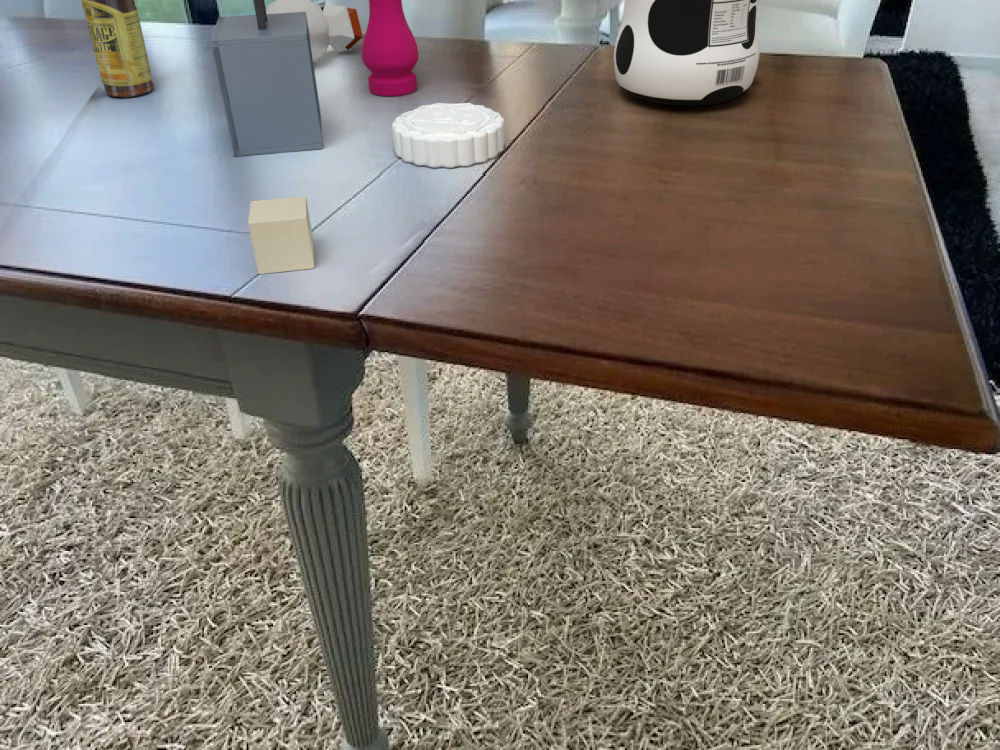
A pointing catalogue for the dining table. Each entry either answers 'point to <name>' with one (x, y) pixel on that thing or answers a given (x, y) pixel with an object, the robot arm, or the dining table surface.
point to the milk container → (687, 50)
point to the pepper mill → (389, 50)
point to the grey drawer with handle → (267, 82)
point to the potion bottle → (324, 24)
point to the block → (281, 235)
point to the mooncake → (448, 135)
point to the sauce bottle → (118, 46)
